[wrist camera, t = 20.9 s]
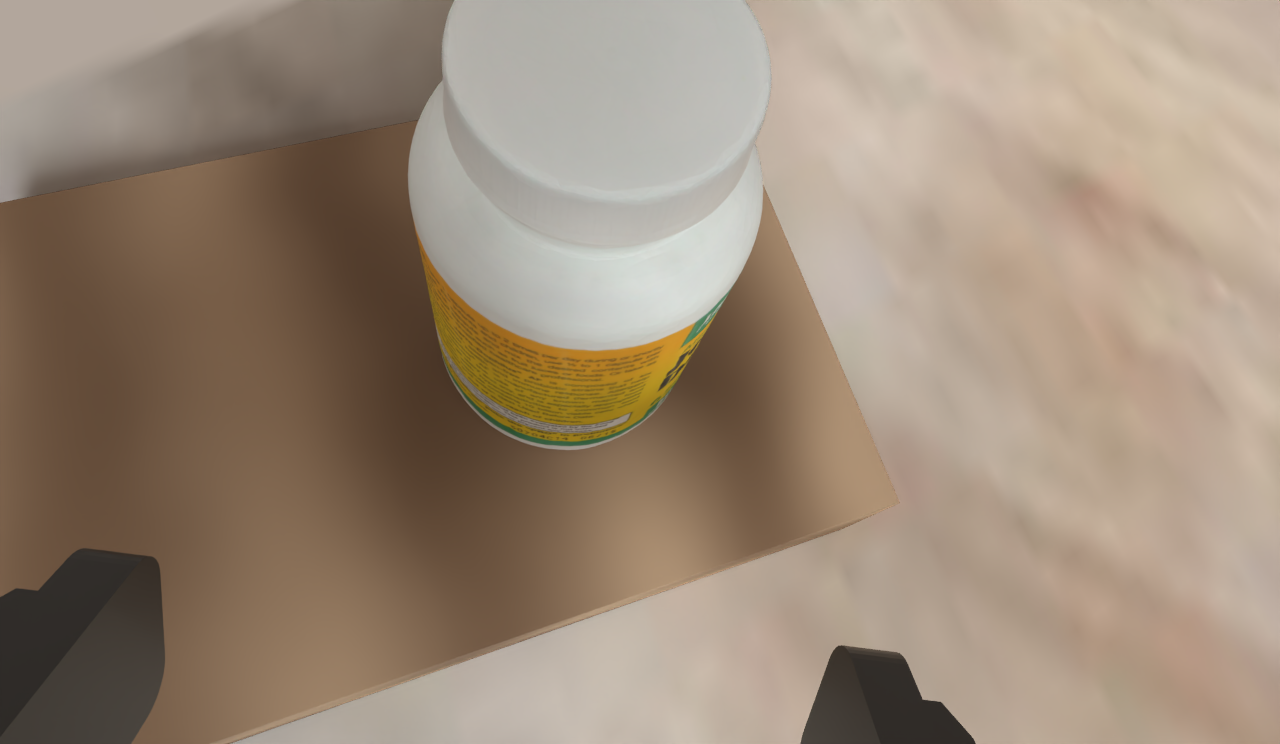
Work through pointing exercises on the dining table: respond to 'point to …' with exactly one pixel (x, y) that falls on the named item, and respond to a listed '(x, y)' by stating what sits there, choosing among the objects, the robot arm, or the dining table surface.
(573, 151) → the supplement bottle
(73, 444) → the board
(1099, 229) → the dining table surface
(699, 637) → the dining table surface
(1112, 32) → the dining table surface
